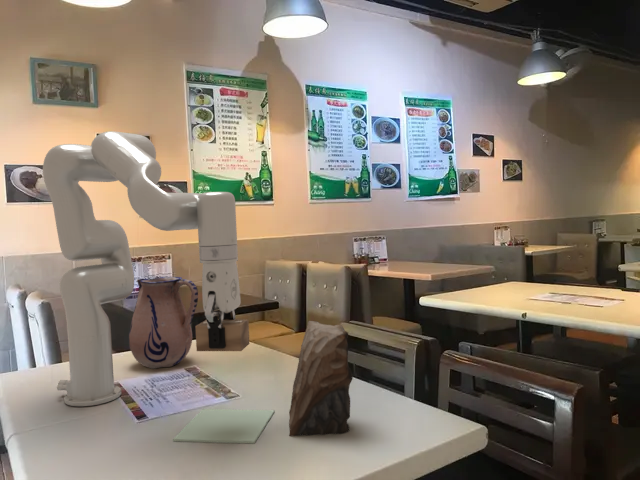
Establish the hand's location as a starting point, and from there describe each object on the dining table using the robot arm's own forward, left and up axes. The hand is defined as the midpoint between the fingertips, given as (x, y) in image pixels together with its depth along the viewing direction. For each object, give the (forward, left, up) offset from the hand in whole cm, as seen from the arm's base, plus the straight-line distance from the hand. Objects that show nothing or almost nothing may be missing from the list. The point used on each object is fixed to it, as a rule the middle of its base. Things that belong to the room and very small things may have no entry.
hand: (222, 343), depth 111 cm
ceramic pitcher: (-32, +44, -17) cm, 57 cm away
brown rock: (+18, +1, -17) cm, 25 cm away
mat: (0, 0, -17) cm, 17 cm away
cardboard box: (0, 0, -1) cm, 1 cm away
